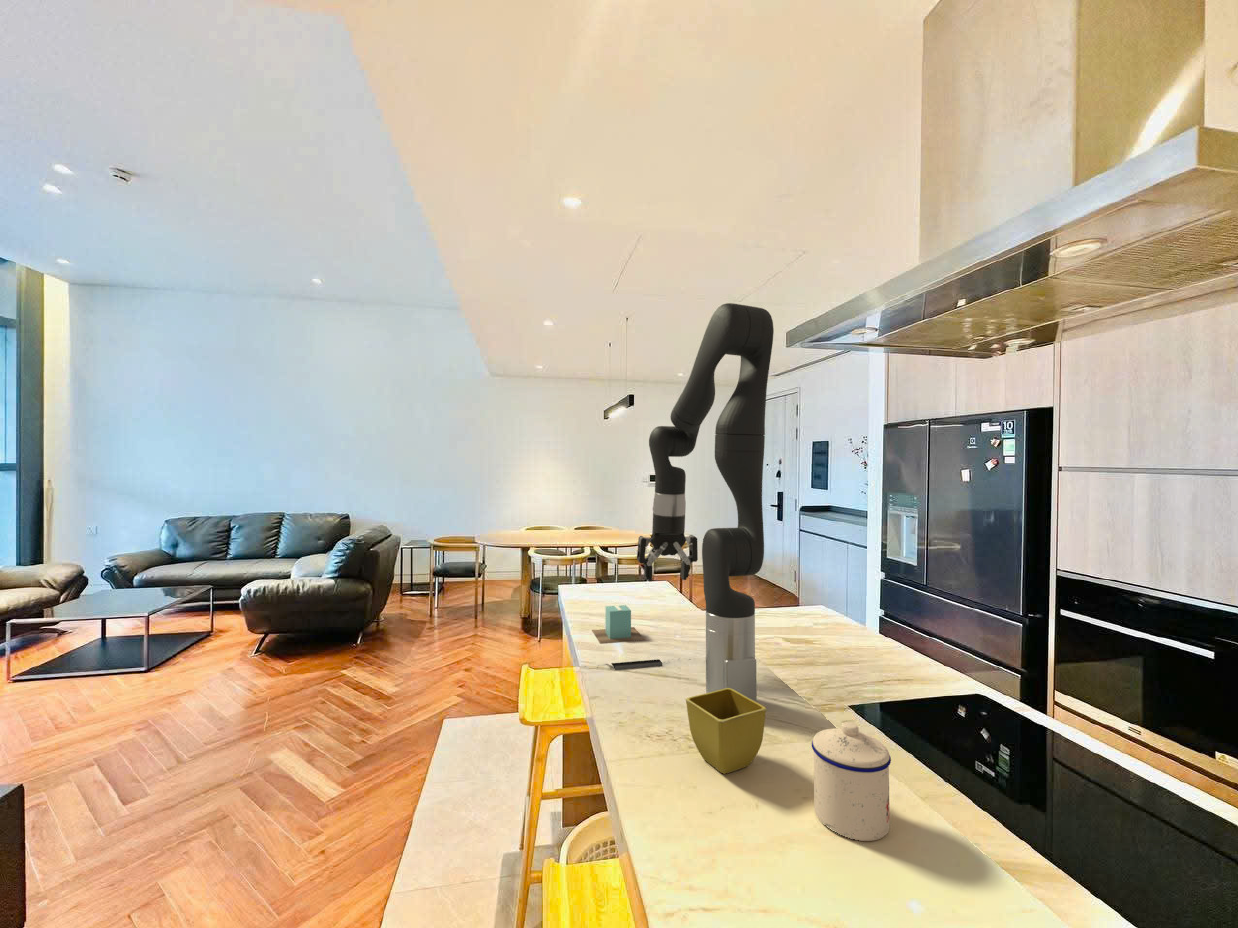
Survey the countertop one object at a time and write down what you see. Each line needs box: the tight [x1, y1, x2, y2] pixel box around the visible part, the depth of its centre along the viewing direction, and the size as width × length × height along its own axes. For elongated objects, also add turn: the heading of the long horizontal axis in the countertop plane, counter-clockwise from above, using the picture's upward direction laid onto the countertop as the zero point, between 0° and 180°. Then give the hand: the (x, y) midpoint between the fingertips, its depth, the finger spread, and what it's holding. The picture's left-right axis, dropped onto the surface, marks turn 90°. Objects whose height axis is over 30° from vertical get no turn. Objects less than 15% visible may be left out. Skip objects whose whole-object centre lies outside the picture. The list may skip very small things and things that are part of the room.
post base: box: [591, 626, 647, 645], centre depth 136 cm, size 12×12×7 cm
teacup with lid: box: [811, 721, 892, 842], centre depth 66 cm, size 12×9×12 cm
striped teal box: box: [604, 604, 632, 639], centre depth 136 cm, size 6×6×7 cm
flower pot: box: [685, 688, 767, 775], centre depth 78 cm, size 9×9×9 cm
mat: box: [610, 658, 663, 671], centre depth 122 cm, size 11×11×1 cm
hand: (666, 579), depth 122 cm, fingers open, 8 cm apart
